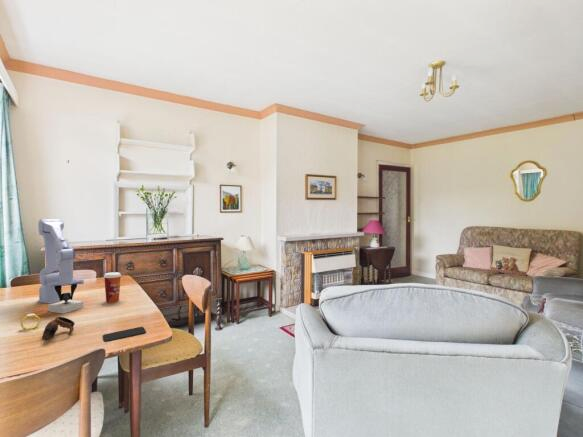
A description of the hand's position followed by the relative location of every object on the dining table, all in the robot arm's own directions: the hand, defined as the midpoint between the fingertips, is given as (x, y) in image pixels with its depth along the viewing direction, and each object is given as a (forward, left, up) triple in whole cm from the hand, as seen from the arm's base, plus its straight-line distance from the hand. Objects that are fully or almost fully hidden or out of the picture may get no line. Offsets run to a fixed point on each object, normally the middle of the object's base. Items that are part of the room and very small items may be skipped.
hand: (66, 299), depth 151 cm
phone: (+50, -14, -5) cm, 52 cm away
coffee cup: (+10, +18, -5) cm, 21 cm away
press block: (0, 0, -5) cm, 5 cm away
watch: (+9, -22, -5) cm, 24 cm away
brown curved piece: (+27, -24, -5) cm, 36 cm away
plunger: (0, 0, -4) cm, 4 cm away
